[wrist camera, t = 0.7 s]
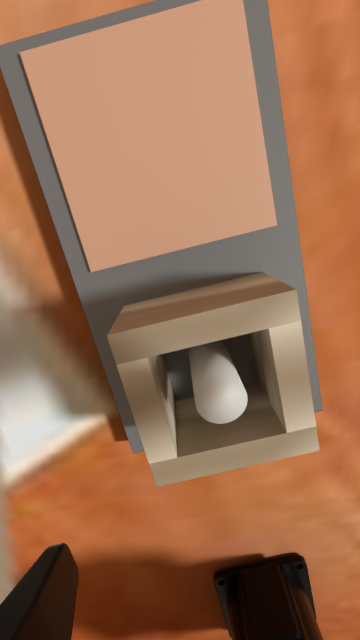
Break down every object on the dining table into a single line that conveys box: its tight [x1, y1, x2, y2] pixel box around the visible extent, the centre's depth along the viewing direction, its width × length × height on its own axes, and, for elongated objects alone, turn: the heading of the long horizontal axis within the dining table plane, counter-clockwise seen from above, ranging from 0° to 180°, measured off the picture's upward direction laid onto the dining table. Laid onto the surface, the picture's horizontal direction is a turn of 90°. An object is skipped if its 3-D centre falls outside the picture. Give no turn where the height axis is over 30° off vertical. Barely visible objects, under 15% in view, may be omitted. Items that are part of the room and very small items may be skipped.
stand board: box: [0, 0, 323, 454], centre depth 14 cm, size 20×11×6 cm, turn 14°
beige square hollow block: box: [107, 272, 320, 487], centre depth 15 cm, size 7×7×4 cm
